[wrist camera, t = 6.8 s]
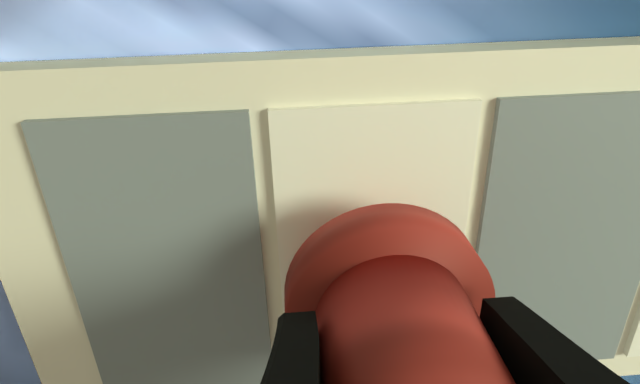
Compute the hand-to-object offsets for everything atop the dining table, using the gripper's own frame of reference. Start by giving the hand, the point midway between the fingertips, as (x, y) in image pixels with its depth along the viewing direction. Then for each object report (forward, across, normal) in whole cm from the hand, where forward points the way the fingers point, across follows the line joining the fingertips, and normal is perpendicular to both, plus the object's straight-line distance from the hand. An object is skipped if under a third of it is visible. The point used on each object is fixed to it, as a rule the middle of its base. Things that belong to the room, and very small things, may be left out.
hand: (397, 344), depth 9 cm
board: (+4, -5, 0) cm, 6 cm away
